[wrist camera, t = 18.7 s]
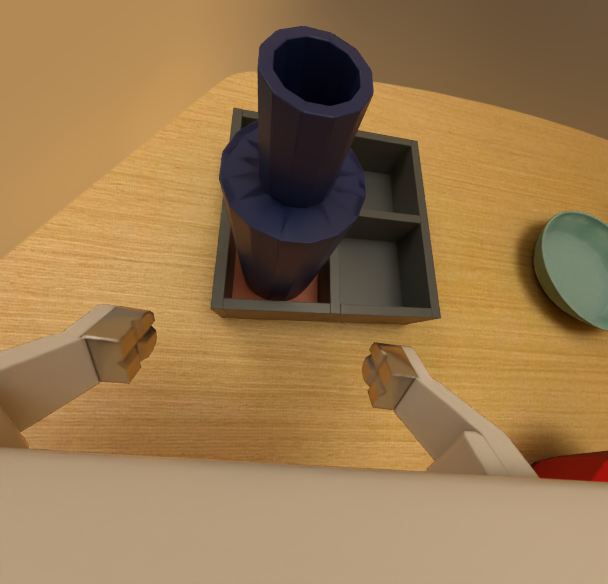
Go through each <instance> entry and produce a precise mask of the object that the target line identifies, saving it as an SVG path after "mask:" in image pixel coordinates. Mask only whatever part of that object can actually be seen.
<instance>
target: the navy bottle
mask: <svg viewBox="0 0 608 584" xmlns="http://www.w3.org/2000/svg"><path fill="white" fill-rule="evenodd" d="M372 96H373V80H372V71H371V69H370V67H369V66H368V65H367V63H366V62H365V60H364V59H363V57H362V56H361V54H360V53H359V52H358V50H356V48H354V47H353V46H351V45H350V44H348V43H347V42H345V41H344V40H342V39H341V38H339V37H338V36H336V35H335V34H332V33H330V32H326V31H323V30H318V29H315V28H310V27H306V26H304V27H303V26H299V27H292V28H286V29H280V30H278V31H275V32H274V33H273V34H272V35H271V36H270V37H269V38H267V39H266V40H265V41H264V42H263V43H262V44H261V46H260V47H259V58H258V120H257V121H255V122H253V123H252V124H250V125H248V126H246V127H244V128H243V129H241V130H239V131H237V132H236V133H235V135H234V136H233V138H232V139H231V141H230V142H229V143H228V145H227V146H226V148H225V149H224V151H223V153H222V158H221V166H220V174H219V180H220V184H221V188H222V192H223V196H224V200H225V204H226V208H227V212H228V216H229V220H230V224H231V228H232V232H233V236H234V240H235V244H236V249H237V253H238V257H239V261H240V265H241V269H242V272H243V275H244V278H245V281H246V283H247V284H248V286H249V287H250V289H251V290H252V291H253V292H254V293H255V294H257V295H258V296H260V297H262V298H264V299H266V300H272V301H288V300H291V299H293V298H295V297H297V296H299V295H300V294H301V293H302V292H303V291H304V290H305V289H306V288H307V287H308V286H309V285H310V283H311V282H312V280H313V279H314V278H315V276H316V275H317V274H318V272H319V271H320V269H321V268H322V267H323V265H324V264H325V263H326V261H327V260H328V258H329V257H330V256H331V254H332V253H333V252H334V250H335V249H336V247H337V246H338V245H339V243H340V242H341V241H342V239H343V238H344V236H345V235H346V234H347V232H348V231H349V230H350V228H351V227H352V225H353V224H354V223H355V221H356V220H357V219H358V216H359V214H360V211H361V209H362V206H363V204H364V202H365V199H366V186H365V174H364V171H363V169H362V167H361V165H360V163H359V161H358V159H357V157H356V155H355V153H354V152H353V150H352V149H351V148H350V146H351V144H352V142H353V140H354V137H355V135H356V133H357V130H358V128H359V126H360V124H361V121H362V119H363V117H364V114H365V112H366V110H367V107H368V105H369V103H370V101H371V98H372Z"/></svg>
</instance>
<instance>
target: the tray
mask: <svg viewBox="0 0 608 584" xmlns="http://www.w3.org/2000/svg"><path fill="white" fill-rule="evenodd" d="M257 120H258V112H254V111H248V110H243V109H239V108H233V116H232V125H231V134H230V141H231V139H232V138H233V136H234V135H235V133H236V132H237V131H239V130H241V129H243V128H244V127H246V126H248V125H250V124H252V123H253V122H255V121H257ZM350 148H351V149H352V150H353V152H354V153H355V155H356V157H357V159H358V161H359V163H360V165H361V167H362V169H363V171H364V174H365V186H366V199H365V202H364V204H363V206H362V209H361V211H360V214H359V216H358V219H357V220H356V221H355V223H354V224H353V225H352V227H351V228H350V230H349V231H348V232H347V234H346V235H345V236H344V238H343V239H342V241H341V242H340V243H339V245H338V246H337V247H336V249H335V250H334V252H333V253H332V254H331V256H330V257H329V258H328V260H327V261H326V263H325V264H324V265H323V267H322V268H321V269H320V271H319V272H318V274H317V275H316V276H315V278H314V279H313V280H312V282H311V283H310V285H309V286H308V287H307V288H306V289H305V290H304V291H303V292H302V293H301V294H300V295H299V296H297V297H295V298H293V299H291V300H288V301H272V300H266V299H264V298H262V297H260V296H258V295H257V294H255V293H254V292H253V291H252V290H251V289H250V287H249V286H248V284H247V283H246V281H245V278H244V275H243V272H242V269H241V265H240V261H239V257H238V253H237V249H236V244H235V240H234V236H233V232H232V228H231V224H230V220H229V216H228V212H227V208H226V204H225V200H224V196H223V204H222V212H221V221H220V230H219V239H218V247H217V256H216V265H215V274H214V282H213V291H212V300H211V309H212V310H213V311H214V312H216V313H217V314H218V315H219V316H221V317H222V318H242V319H269V320H297V321H325V322H353V323H381V324H411V323H417V322H422V321H428V320H434V319H439V318H441V316H440V308H439V300H438V293H437V285H436V278H435V270H434V263H433V255H432V247H431V240H430V232H429V225H428V217H427V210H426V202H425V194H424V187H423V179H422V172H421V164H420V157H419V149H418V141H415V140H409V139H403V138H398V137H392V136H387V135H381V134H376V133H370V132H365V131H359V130H357V133H356V135H355V137H354V140H353V142H352V144H351V146H350Z"/></svg>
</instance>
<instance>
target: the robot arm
mask: <svg viewBox="0 0 608 584" xmlns="http://www.w3.org/2000/svg"><path fill="white" fill-rule="evenodd" d="M154 321H155V319H154V313H153V312H151V311H148V310H141V309H135V308H129V307H123V306H115V305H109V304H100V305H97V306H96V307H95V308H93V309H92V310H91V311H89V312H88V313H87V314H85V315H84V316H83V317H81V318H80V319H79V320H77V321H76V322H75V323H74V324H72V325H71V326H70V327H68V328H67V329H66V330H64V331H63V332H62V333H60V334H59V335H54V334H52V335H49V336H46V337H43V338H40V339H37V340H34V341H31V342H28V343H25V344H21V345H18V346H15V347H12V348H9V349H6V350H3V351H0V584H608V482H596V481H578V480H561V479H544V478H539V476H538V475H537V474H536V473H535V471H534V470H533V469H532V467H531V466H530V465H529V463H528V462H527V461H526V459H525V458H524V457H523V455H522V454H521V453H520V452H519V450H518V449H517V448H516V446H515V445H514V444H513V442H512V441H511V440H510V438H509V437H508V436H507V434H506V433H505V432H503V431H502V430H501V429H499V428H498V427H497V426H495V425H494V424H493V423H492V422H490V421H489V420H488V419H486V418H485V417H484V416H482V415H481V414H480V413H479V412H477V411H476V410H475V409H473V408H472V407H471V406H469V405H468V404H467V403H466V402H464V401H463V400H462V399H460V398H459V397H458V396H456V395H455V394H454V393H453V392H451V391H450V390H449V389H447V388H446V387H445V386H443V385H442V384H441V383H440V382H438V381H437V380H433V379H432V377H431V376H430V374H429V373H428V371H427V369H426V368H425V366H424V365H423V363H422V361H421V360H420V358H419V357H418V355H417V353H416V352H415V350H414V349H413V348H412V347H409V346H401V345H398V346H397V345H390V344H383V343H375V342H374V343H373V344H372V345H371V347H370V349H369V350H370V352H371V354H370V355H369V356H367V357H366V358H365V360H364V362H363V367H362V374H363V379H364V382H365V383H366V384H367V385H368V386H369V389H368V395H369V398H370V401H371V404H372V407H373V408H380V409H388V410H394V412H395V413H396V415H397V416H398V417H399V418H400V420H401V421H402V422H403V423H404V424H405V426H406V427H407V428H408V429H409V430H410V432H411V433H412V434H413V435H414V436H415V438H416V439H417V440H418V441H419V442H420V444H421V445H422V446H423V447H424V448H425V450H426V451H427V452H428V453H429V454H430V456H431V457H432V458H433V459H434V460H435V461H434V462H433V463H432V464H431V465H430V466H429V467H428V468H427V470H426V472H423V471H405V470H388V469H371V468H354V467H337V466H320V465H303V464H286V463H269V462H252V461H234V460H217V459H200V458H182V457H165V456H148V455H131V454H113V453H96V452H79V451H62V450H44V449H29V445H28V443H27V442H26V440H25V439H24V438H23V436H22V435H21V433H20V432H22V431H24V430H25V429H27V428H28V427H30V426H32V425H33V424H35V423H36V422H38V421H40V420H41V419H43V418H44V417H46V416H48V415H49V414H51V413H52V412H54V411H56V410H57V409H59V408H60V407H62V406H64V405H65V404H67V403H69V402H70V401H72V400H73V399H75V398H77V397H78V396H80V395H81V394H83V393H85V392H86V391H88V390H89V389H91V388H93V387H94V386H96V385H97V384H99V382H112V383H126V384H129V383H130V382H131V381H132V379H133V378H134V377H135V375H136V374H137V372H138V371H139V370H140V368H141V363H140V361H142V360H144V359H146V358H148V357H149V356H150V354H151V353H152V351H153V349H154V347H155V344H156V340H157V333H156V330H155V329H154V328H153V327H152V326H151V325H152V324H153V322H154Z"/></svg>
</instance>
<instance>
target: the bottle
mask: <svg viewBox="0 0 608 584" xmlns="http://www.w3.org/2000/svg"><path fill="white" fill-rule="evenodd" d="M531 467H532V469H533V470H534V471H535V473H536V474H537V475H538V476H539V478H544V479H561V480H578V481H596V482H608V451H601V452H592V453H583V454H574V455H565V456H557V457H550V458H547V459H543V460H540V461H536V462H534V463H533V464H532V465H531Z"/></svg>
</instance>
